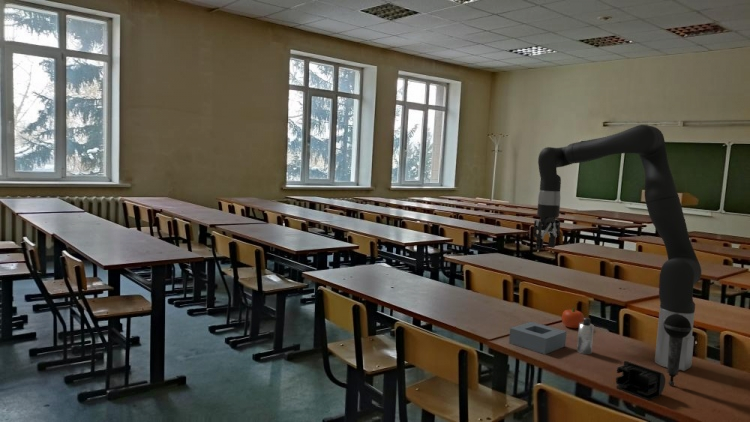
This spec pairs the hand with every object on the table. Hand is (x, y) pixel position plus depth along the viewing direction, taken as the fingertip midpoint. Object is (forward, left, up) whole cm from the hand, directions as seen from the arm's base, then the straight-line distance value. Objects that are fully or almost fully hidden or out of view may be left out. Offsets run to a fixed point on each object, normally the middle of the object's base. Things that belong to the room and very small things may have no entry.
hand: (545, 248), depth 197 cm
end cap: (-47, +30, -30) cm, 63 cm away
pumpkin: (-7, -11, -30) cm, 32 cm away
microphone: (-51, +18, -30) cm, 62 cm away
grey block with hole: (-10, +18, -29) cm, 36 cm away
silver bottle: (-23, +12, -29) cm, 39 cm away
